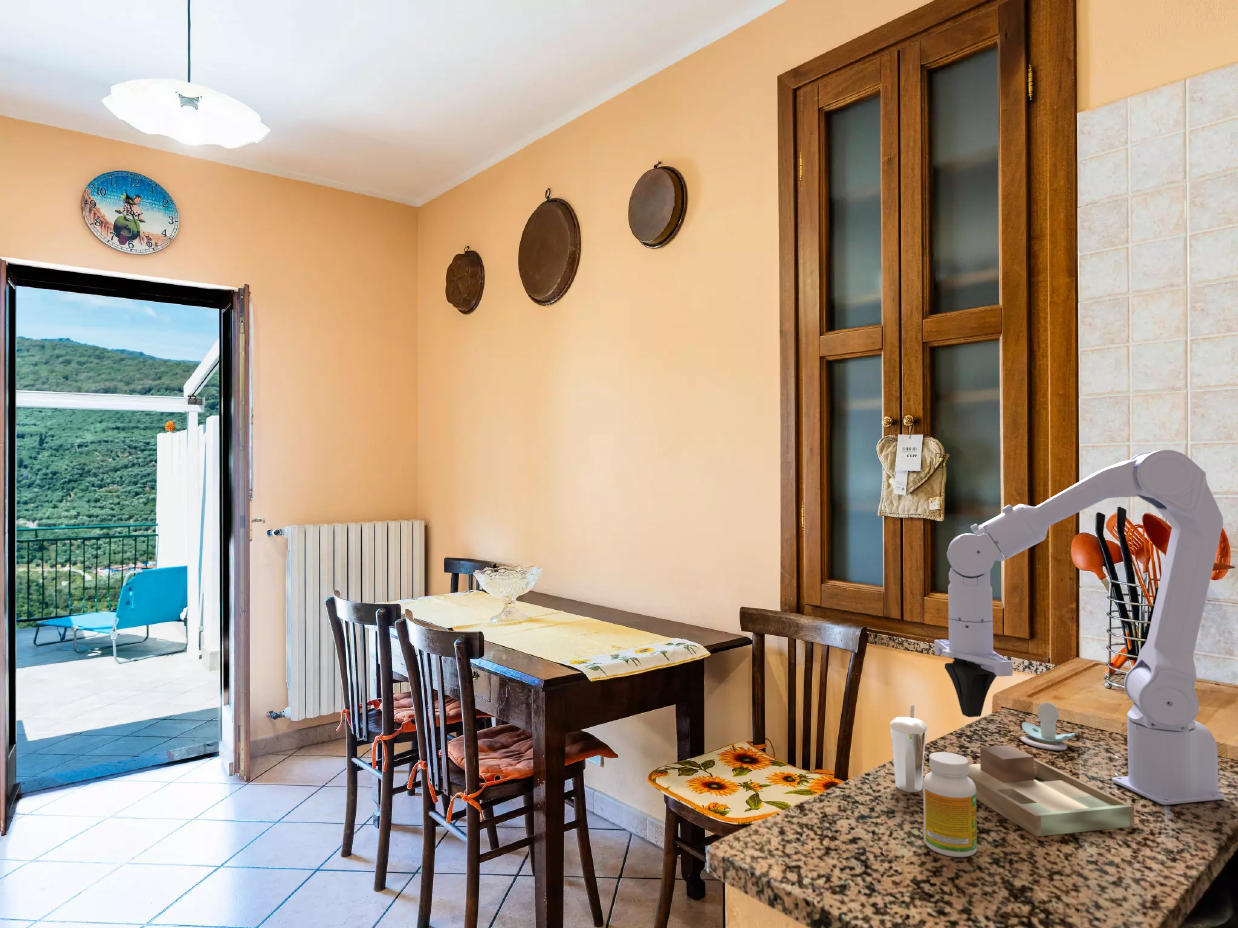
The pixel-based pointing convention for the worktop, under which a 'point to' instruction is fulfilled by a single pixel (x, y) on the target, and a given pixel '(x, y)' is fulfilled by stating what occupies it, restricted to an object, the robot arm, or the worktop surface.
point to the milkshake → (908, 751)
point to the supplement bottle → (950, 806)
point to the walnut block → (1007, 763)
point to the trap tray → (1051, 802)
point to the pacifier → (1045, 729)
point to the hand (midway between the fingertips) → (971, 715)
